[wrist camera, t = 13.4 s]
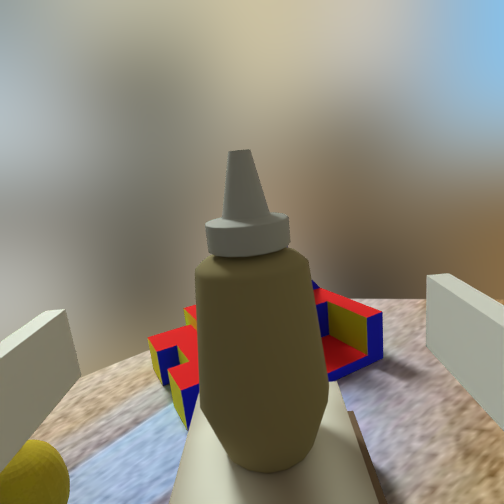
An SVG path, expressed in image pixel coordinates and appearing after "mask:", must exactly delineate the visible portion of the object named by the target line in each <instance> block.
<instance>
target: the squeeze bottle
mask: <svg viewBox="0 0 504 504" xmlns="http://www.w3.org/2000/svg"><path fill="white" fill-rule="evenodd" d="M205 228H206V236H207V244H208V251H209V253H211V254H213V255H210V256H209V257H207V258H206V259H205V260H203V261H202V262H201V263H200V264H199V266H198V267H197V268H196V269H195V288H196V289H195V292H196V317H197V343H198V368H199V394H200V409H201V410H202V412H203V414H204V416H205V417H206V419H207V421H208V422H209V424H210V426H211V428H212V429H213V431H214V433H215V434H216V436H217V438H218V440H219V441H220V443H221V445H222V447H223V448H224V450H225V451H226V453H227V454H228V456H229V457H230V458H231V460H232V461H233V462H234V463H235V464H237V465H239V466H241V467H243V468H245V469H246V470H248V471H255V472H263V473H271V472H276V471H281V470H286V469H289V468H291V467H292V466H294V465H296V464H297V463H299V462H301V461H302V460H304V458H305V457H306V456H307V454H308V453H309V451H310V450H311V449H312V447H313V445H314V442H315V439H316V436H317V433H318V430H319V427H320V424H321V421H322V418H323V415H324V412H325V409H326V406H327V403H328V395H329V381H328V375H327V369H326V363H325V357H324V351H323V345H322V339H321V333H320V327H319V321H318V315H317V309H316V304H315V298H314V292H313V286H312V280H311V274H310V268H309V262H308V260H307V259H306V258H305V257H304V256H303V255H301V254H300V253H299V252H297V251H296V250H294V249H292V248H288V247H287V246H288V245H289V243H290V230H289V217H288V216H287V215H285V214H283V213H270V212H269V209H268V206H267V203H266V200H265V196H264V193H263V190H262V186H261V184H260V180H259V177H258V173H257V170H256V167H255V164H254V161H253V157H252V154H251V151H250V150H237V151H229V152H228V161H227V171H226V183H225V193H224V204H223V215H222V217H221V218H217V219H214V220H211V221H209V222H207V223H206V224H205Z"/></svg>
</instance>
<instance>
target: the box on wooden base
mask: <svg viewBox="0 0 504 504" xmlns="http://www.w3.org/2000/svg"><path fill="white" fill-rule="evenodd" d="M169 504H387V501H386V499H385V496H384V493H383V490H382V488H381V485H380V482H379V480H378V477H377V474H376V471H375V469H374V466H373V463H372V461H371V458H370V455H369V452H368V450H367V447H366V444H365V442H364V439H363V436H362V433H361V431H360V428H359V425H358V423H357V420H356V417H355V415H354V412H353V411H347V409H346V407H345V404H344V401H343V398H342V395H341V392H340V389H339V386H338V383H337V381H334V382H329V395H328V403H327V406H326V409H325V412H324V415H323V418H322V421H321V424H320V427H319V430H318V433H317V436H316V439H315V442H314V445H313V447H312V449H311V450H310V451H309V453H308V454H307V456H306V457H305V458H304V460H302V461H301V462H299V463H297V464H296V465H294V466H292V467H291V468H289V469H286V470H281V471H276V472H271V473H263V472H255V471H248V470H246V469H245V468H243V467H241V466H239V465H237V464H235V463H234V462H233V461H232V460H231V458H230V457H229V456H228V454H227V453H226V451H225V450H224V448H223V447H222V445H221V443H220V441H219V440H218V438H217V436H216V434H215V433H214V431H213V429H212V428H211V426H210V424H209V422H208V421H207V419H206V417H205V416H204V414H203V412H202V410H201V409H200V394H198V398H197V401H196V405H195V409H194V412H193V416H192V420H191V424H190V427H189V431H188V435H187V438H186V442H185V446H184V449H183V453H182V457H181V461H180V464H179V468H178V472H177V475H176V479H175V483H174V487H173V490H172V494H171V498H170V501H169Z"/></svg>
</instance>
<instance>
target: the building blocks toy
mask: <svg viewBox="0 0 504 504" xmlns="http://www.w3.org/2000/svg"><path fill="white" fill-rule="evenodd" d="M287 247H288V246H287ZM312 286H313V292H314V298H315V304H316V309H317V315H318V321H319V327H320V333H321V339H322V345H323V351H324V357H325V363H326V369H327V375H328V381H329V382H333V381H335V380H337V379H340V378H342V377H344V376H346V375H348V374H350V373H352V372H355V371H357V370H359V369H361V368H363V367H365V366H367V365H370V364H372V363H374V362H376V361H378V360H380V359H382V358H383V317H382V311H379V310H377V309H374V308H371V307H369V306H366V305H364V304H361V303H358V302H356V301H353V300H351V299H348V298H345V297H343V296H340V295H338V294H335V293H333V292H330V291H327V290H325V289H322V288H320V287H319V286H318V285H317V284H316V283H315V282H314V281H313V280H312ZM184 315H185V321H186V326H184V327H180V328H177V329H174V330H170V331H167V332H164V333H160V334H157V335H154V336H151V337H148V342H149V347H150V353H151V358H152V364H153V369H154V371H155V373H156V375H157V376H158V378H159V380H160V382H161V384H162V385H163V386H164V385H167V384H169V383H170V386H171V392H172V398H173V403H174V407H175V409H176V411H177V413H178V414H179V416H180V418H181V420H182V422H183V424H184V425H185V427H186V429H187V431H189V427H190V424H191V420H192V416H193V412H194V409H195V405H196V401H197V398H198V394H199V368H198V343H197V317H196V305H193V306H190V307H186V308H184ZM360 351H361V352H360Z"/></svg>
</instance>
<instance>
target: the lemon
mask: <svg viewBox="0 0 504 504" xmlns="http://www.w3.org/2000/svg"><path fill="white" fill-rule="evenodd" d="M69 492H70V479H69V473H68V470H67V467H66V465H65V463H64V461H63V458H62V457H61V455H60V454H59V452H58V451H57V450H56V449H55V448H54V447H53V446H51V445H50V444H49V443H47V442H44V441H40V440H27V441H26V443H25V444H24V445H23V446H22V448H21V449H20V450H19V451H18V452H17V454H16V455H15V456H14V457H13V458H12V460H11V461H10V462H9V463H8V464H7V466H6V467H5V468H4V469H3V470H2V472H1V473H0V504H67V502H68V498H69Z"/></svg>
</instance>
